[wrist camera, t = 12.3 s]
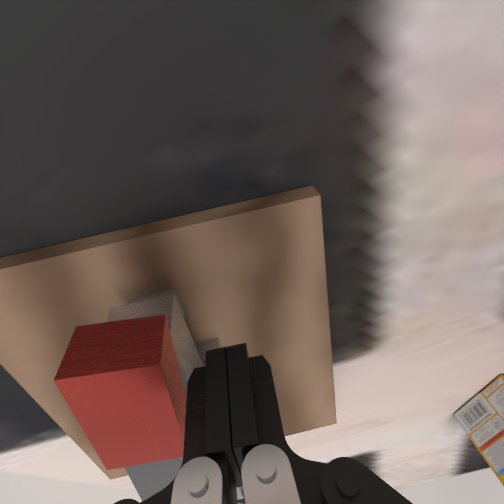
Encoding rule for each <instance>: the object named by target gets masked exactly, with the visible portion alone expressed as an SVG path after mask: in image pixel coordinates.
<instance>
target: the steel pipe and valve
mask: <svg viewBox="0 0 504 504" xmlns="http://www.w3.org/2000/svg"><path fill="white" fill-rule="evenodd" d="M165 314H166V318H167V322H168V326H169V330H170V334H171V338H172V341H173V345H174V349H175V353H176V357H177V361H178V365H179V369H180V373H181V377H182V381H183V385H184V388H185V392H186V396H187V382H188V380H189V378H190V375H191V373H192V371H193V369H194V368H198V367H203V366H206V350H211V349H216V348H221V344H220V341H219V339H218V338H214V339H210V340H206V341H202V342H198V343H194V341H193V339H192V336H191V334H190V331H189V329H188V327H187V324H186V322H185V311H184V309H183V306H182V304H181V301H180V299H179V297H178V294H177V292H176V289H172V290H168V291H164V292H160V293H155V294H151V295H147V296H143V297H138V298H134V299H130V300H127V304H126V305H121V306H117V307H113V308H110V310H109V313H108V317H107V320H106V322H112V321H120V320H127V319H135V318H142V317H150V316H157V315H165ZM242 498H244V496H243V487H237V500H238V499H242Z"/></svg>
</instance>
